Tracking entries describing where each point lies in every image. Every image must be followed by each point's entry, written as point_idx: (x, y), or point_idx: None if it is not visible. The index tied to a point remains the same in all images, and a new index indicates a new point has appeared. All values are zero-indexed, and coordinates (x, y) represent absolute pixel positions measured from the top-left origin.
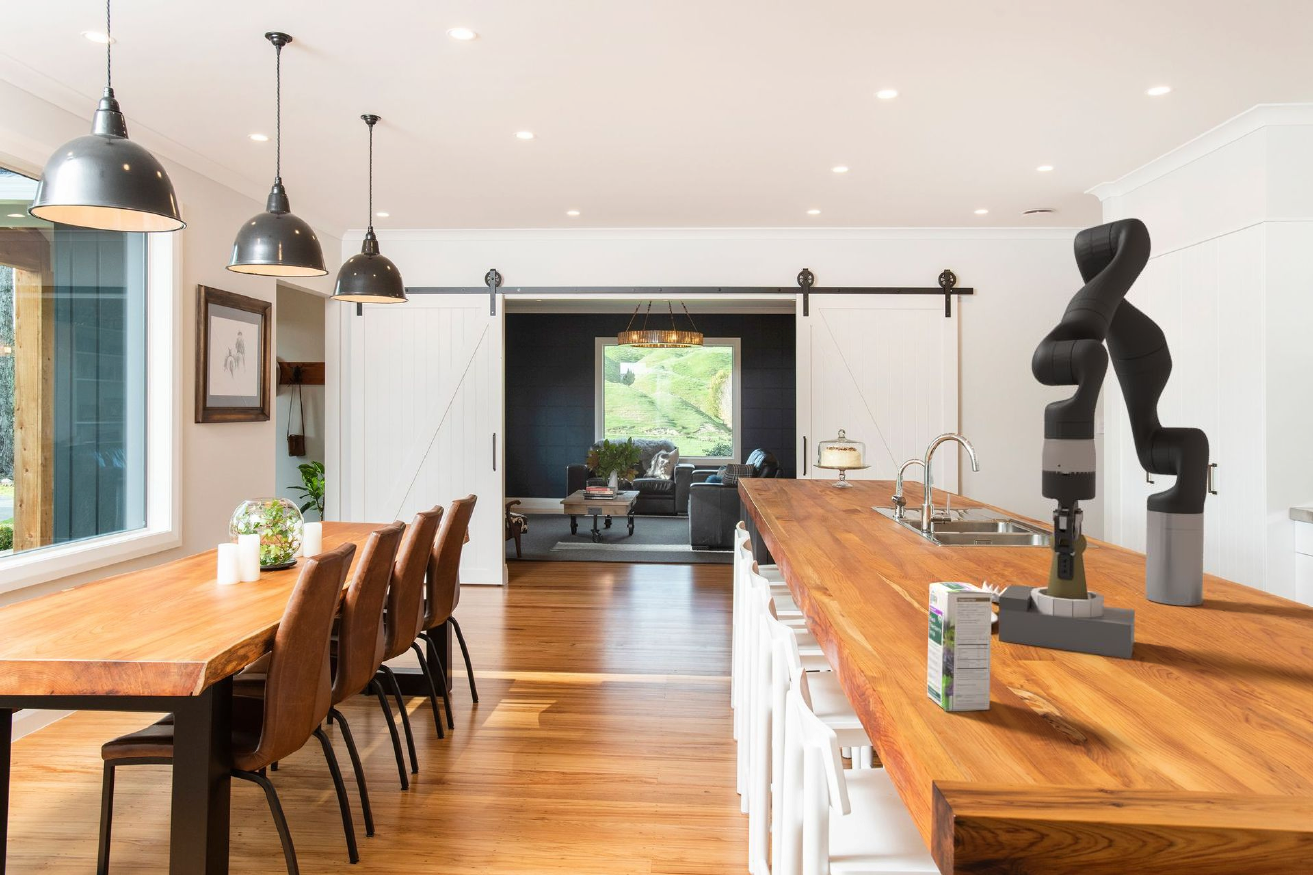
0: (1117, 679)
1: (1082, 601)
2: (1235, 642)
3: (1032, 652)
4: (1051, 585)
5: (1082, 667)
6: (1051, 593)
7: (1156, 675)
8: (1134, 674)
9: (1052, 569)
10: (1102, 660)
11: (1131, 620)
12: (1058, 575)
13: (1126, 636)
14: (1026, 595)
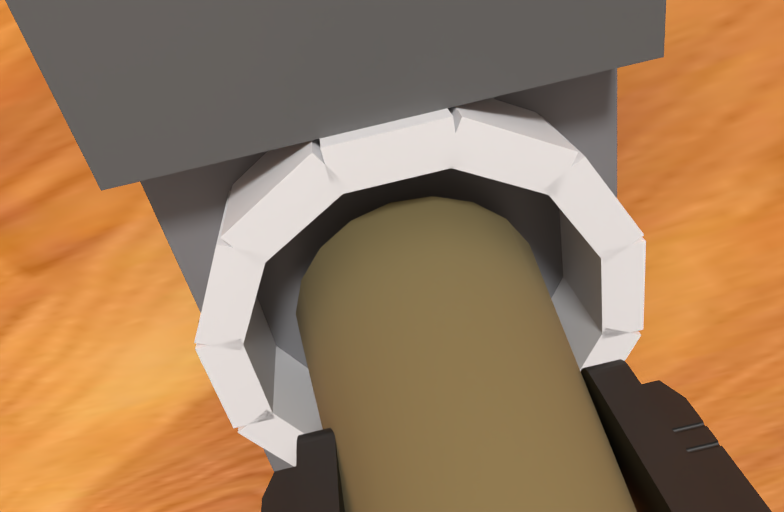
0: (14, 470)
1: (277, 455)
2: None
3: (58, 165)
4: (336, 326)
5: (40, 369)
6: (322, 294)
7: (174, 508)
8: (124, 478)
9: (381, 414)
10: (203, 377)
11: None
12: (299, 453)
13: None
14: (257, 125)
